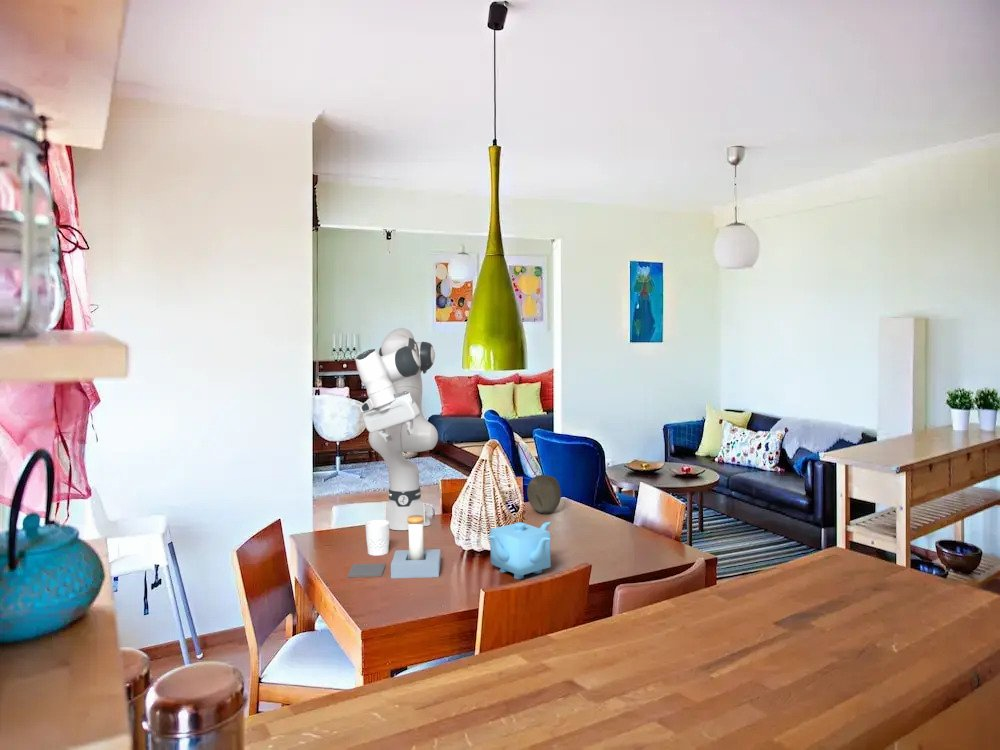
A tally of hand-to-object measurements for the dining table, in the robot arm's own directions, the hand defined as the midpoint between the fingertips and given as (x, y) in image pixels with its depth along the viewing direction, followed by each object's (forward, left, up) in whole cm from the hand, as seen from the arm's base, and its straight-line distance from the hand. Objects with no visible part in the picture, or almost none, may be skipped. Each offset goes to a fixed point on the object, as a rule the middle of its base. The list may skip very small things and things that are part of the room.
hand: (400, 437), depth 225 cm
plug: (+16, +6, -38) cm, 42 cm away
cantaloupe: (-48, +52, -38) cm, 80 cm away
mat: (+16, -9, -38) cm, 43 cm away
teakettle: (+21, +38, -39) cm, 58 cm away
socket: (+16, +6, -38) cm, 42 cm away
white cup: (-2, -8, -38) cm, 39 cm away
